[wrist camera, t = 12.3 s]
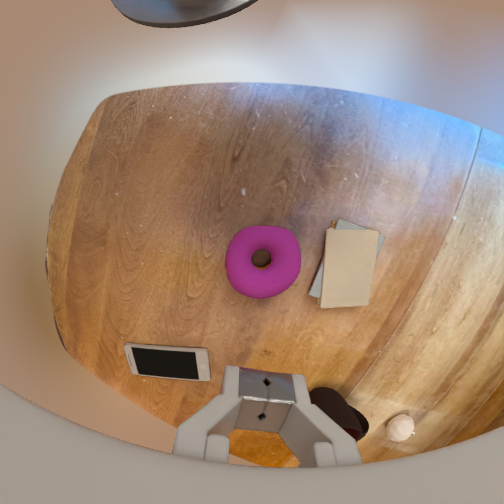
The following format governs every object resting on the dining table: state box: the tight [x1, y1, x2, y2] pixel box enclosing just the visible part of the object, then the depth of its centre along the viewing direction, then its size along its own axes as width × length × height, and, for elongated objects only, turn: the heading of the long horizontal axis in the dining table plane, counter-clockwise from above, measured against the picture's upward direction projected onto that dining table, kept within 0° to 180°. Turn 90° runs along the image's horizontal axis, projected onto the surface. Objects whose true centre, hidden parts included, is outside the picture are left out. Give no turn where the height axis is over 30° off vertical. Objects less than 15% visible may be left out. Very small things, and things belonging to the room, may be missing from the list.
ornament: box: [386, 414, 415, 442], centre depth 51 cm, size 7×7×8 cm
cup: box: [309, 387, 369, 442], centre depth 45 cm, size 10×14×12 cm
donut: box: [225, 226, 301, 299], centre depth 39 cm, size 10×10×5 cm
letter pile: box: [308, 218, 385, 308], centre depth 41 cm, size 14×10×2 cm
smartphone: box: [124, 343, 211, 381], centre depth 47 cm, size 7×16×1 cm, turn 90°
